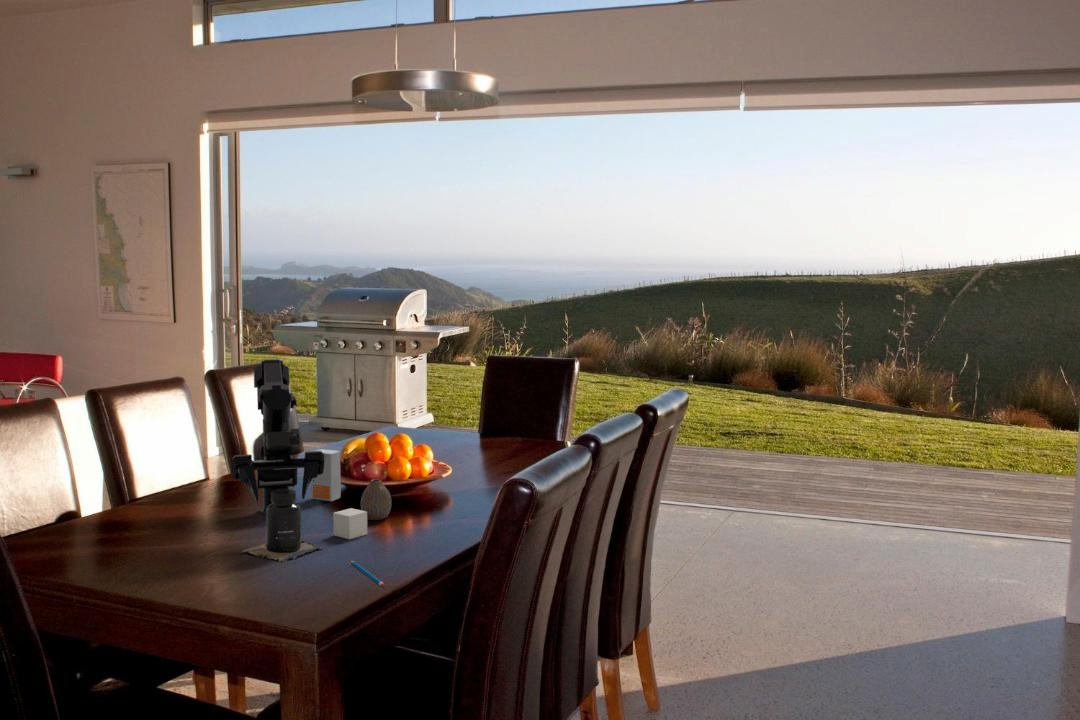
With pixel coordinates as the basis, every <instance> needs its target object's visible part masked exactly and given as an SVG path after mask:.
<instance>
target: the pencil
mask: <svg viewBox="0 0 1080 720" xmlns="http://www.w3.org/2000/svg"><path fill="white" fill-rule="evenodd" d="M350 563H351V564H352V565H353V566H354V567H356V568H357V569H358V570H360V572H361V573H363V574H364V575H366V576H367V577H369V578H370V579H371V580H372V581H374V582H375V583H377V584H378V585H379V586H380V587H386V586H387V585H386V583H384V582H383V581H381V580H380V579H379V578H377V577H376V576H375V575H374V574H372V573H371V572H370V571H368V570H367V569H365V568H364V567H363V566H362V565H360V564H359V563H357V561H354V560H350Z"/></svg>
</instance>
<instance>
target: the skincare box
mask: <svg viewBox="0 0 1080 720" xmlns="http://www.w3.org/2000/svg"><path fill="white" fill-rule="evenodd" d="M315 451H322V452H323V453H324V460H325V461H324V470H323V474H321V475H318V476H317V477H316V478H313V479H312V480H311V482H310V484H311V488H310V489H311V499H312V500H321V501H326V502H333V501H335V500H336V501H337V500H339V499H340V498H341V451H340V450H334V449H333V450H332V449H322V448H320V449H317V450H316V449H315Z"/></svg>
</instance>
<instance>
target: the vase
mask: <svg viewBox="0 0 1080 720" xmlns="http://www.w3.org/2000/svg"><path fill="white" fill-rule="evenodd" d="M391 509H392V495H391V493H390V491H389V490H388V489H387V487H386V486H385V485H384V484H383V482H382V480H381V479H379V478H378V479H377V478H376V479H371V480H370V481H369V484H368V485H367V487H366V488H365V489H364V491H363V492H362V495H361V499H360V510H362V511H366V512H367V520H369V521H380V520H384V519H386V518H387V517H388V515H389V514H390V512H391Z"/></svg>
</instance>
